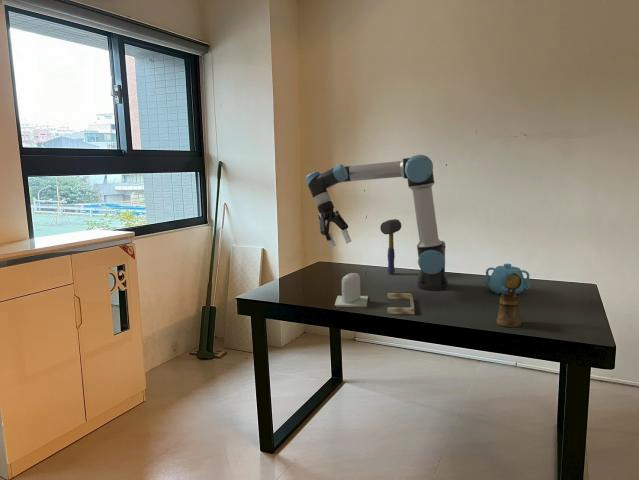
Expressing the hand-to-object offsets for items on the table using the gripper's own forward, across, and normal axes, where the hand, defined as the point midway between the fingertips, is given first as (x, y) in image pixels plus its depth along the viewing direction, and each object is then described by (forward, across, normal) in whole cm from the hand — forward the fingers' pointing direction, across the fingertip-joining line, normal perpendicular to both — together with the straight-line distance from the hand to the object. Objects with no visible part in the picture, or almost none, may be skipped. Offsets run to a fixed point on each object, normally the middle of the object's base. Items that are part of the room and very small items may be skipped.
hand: (341, 244), depth 232 cm
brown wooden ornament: (+56, 0, +58) cm, 81 cm away
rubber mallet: (+22, -46, -8) cm, 51 cm away
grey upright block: (+26, +9, -1) cm, 27 cm away
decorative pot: (+50, -40, +48) cm, 80 cm away
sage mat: (+26, +9, -1) cm, 28 cm away
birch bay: (+36, +3, +18) cm, 40 cm away
